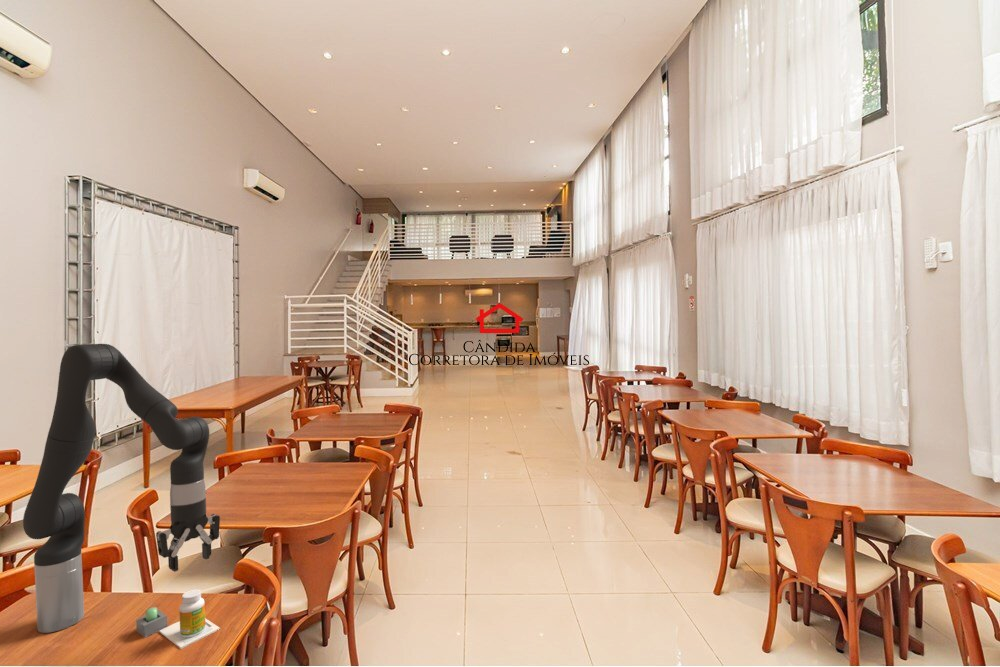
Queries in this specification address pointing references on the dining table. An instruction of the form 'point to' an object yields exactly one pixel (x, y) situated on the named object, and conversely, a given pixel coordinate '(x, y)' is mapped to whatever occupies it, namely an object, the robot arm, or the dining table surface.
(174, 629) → the white flat block
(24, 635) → the dining table surface
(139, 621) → the button housing
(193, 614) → the supplement bottle
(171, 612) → the dining table surface
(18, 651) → the dining table surface
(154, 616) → the button
